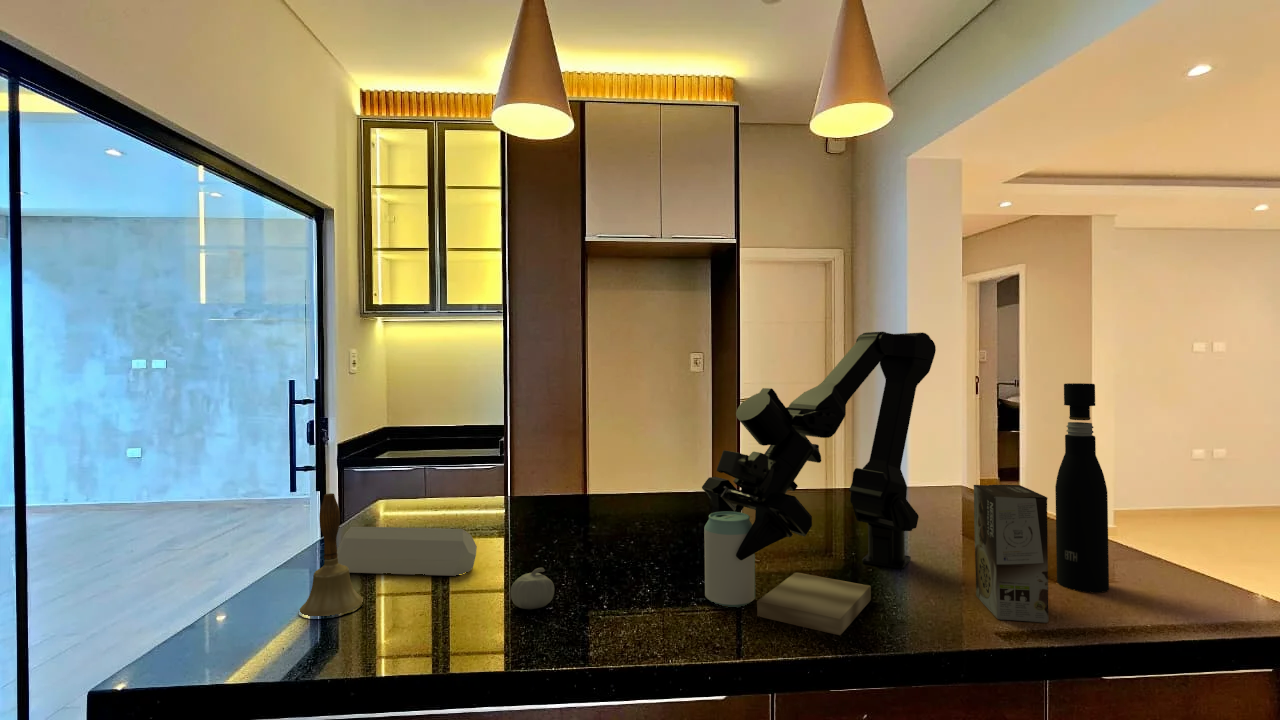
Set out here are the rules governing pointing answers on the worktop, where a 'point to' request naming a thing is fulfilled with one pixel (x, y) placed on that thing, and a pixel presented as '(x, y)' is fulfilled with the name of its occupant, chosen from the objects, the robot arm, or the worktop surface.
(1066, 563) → the black bottle
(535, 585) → the grey pumpkin
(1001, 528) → the coffee box
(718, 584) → the can
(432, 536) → the crystal
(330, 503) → the hand bell
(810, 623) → the beige wooden slab
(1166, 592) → the worktop surface
